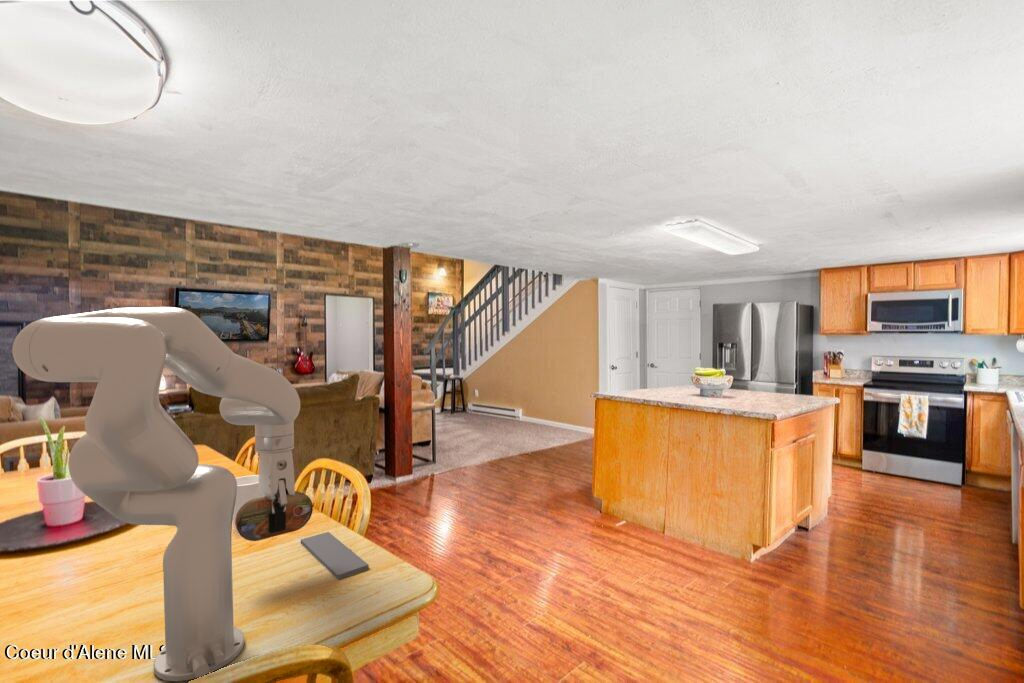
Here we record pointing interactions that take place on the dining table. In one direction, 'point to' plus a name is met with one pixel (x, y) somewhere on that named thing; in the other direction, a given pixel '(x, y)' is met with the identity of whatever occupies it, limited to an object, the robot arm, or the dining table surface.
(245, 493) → the foam cup
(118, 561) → the dining table surface
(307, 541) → the charcoal mat
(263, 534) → the tin
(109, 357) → the robot arm
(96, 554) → the dining table surface
